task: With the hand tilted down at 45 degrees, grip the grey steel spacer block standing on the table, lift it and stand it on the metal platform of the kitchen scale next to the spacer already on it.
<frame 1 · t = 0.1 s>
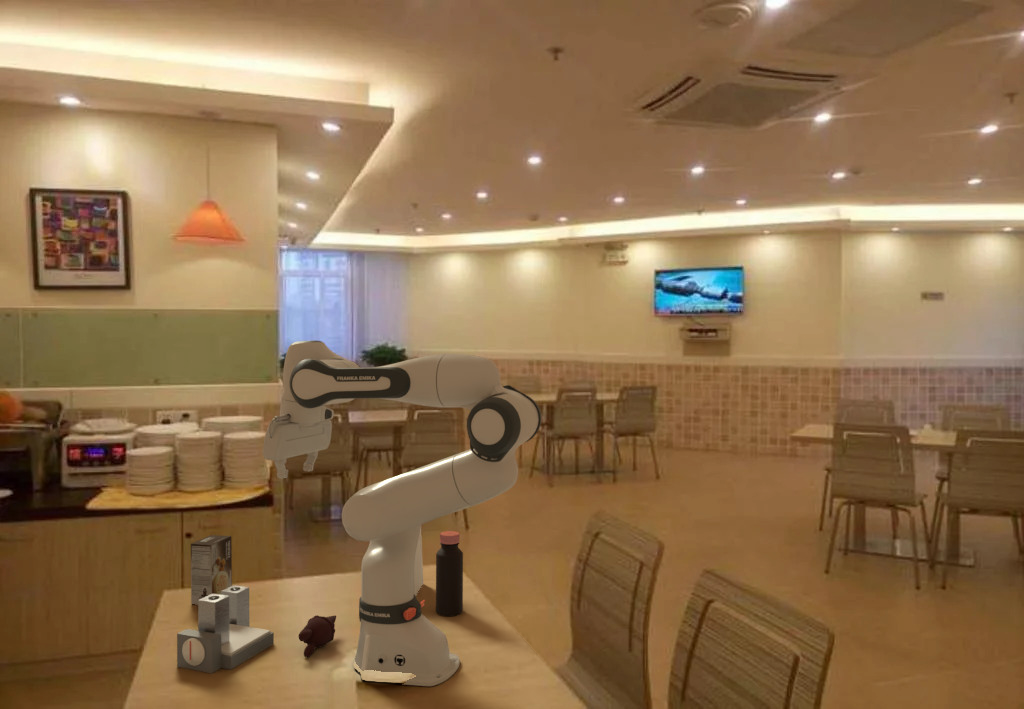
hand: (295, 474, 167), 39 cm above the table, tool pointing down, fingers open, 8 cm apart
coffee box: (211, 600, 198), on the table
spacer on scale: (214, 644, 162), point 3 cm above the table, touching scale
milk: (397, 590, 206), on the table
bottle: (449, 612, 190), on the table
spacer: (235, 631, 177), on the table
icecream: (319, 646, 169), on the table
scale: (226, 651, 166), on the table
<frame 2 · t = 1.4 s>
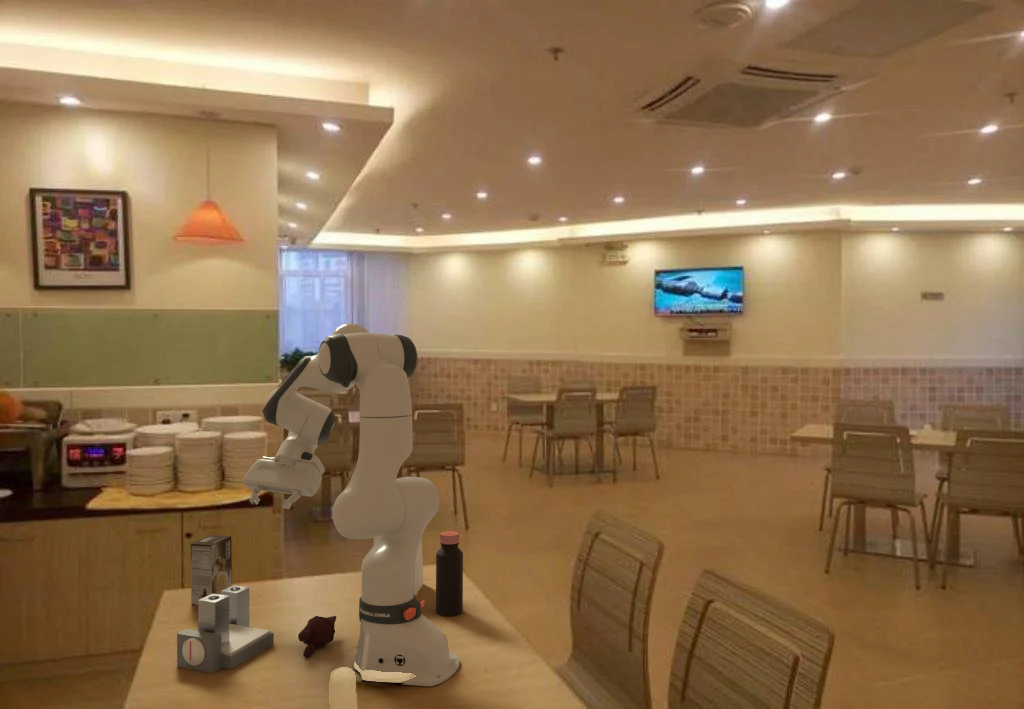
hand: (269, 505, 188), 27 cm above the table, tool tilted 45°, fingers open, 8 cm apart
nothing on the table moved.
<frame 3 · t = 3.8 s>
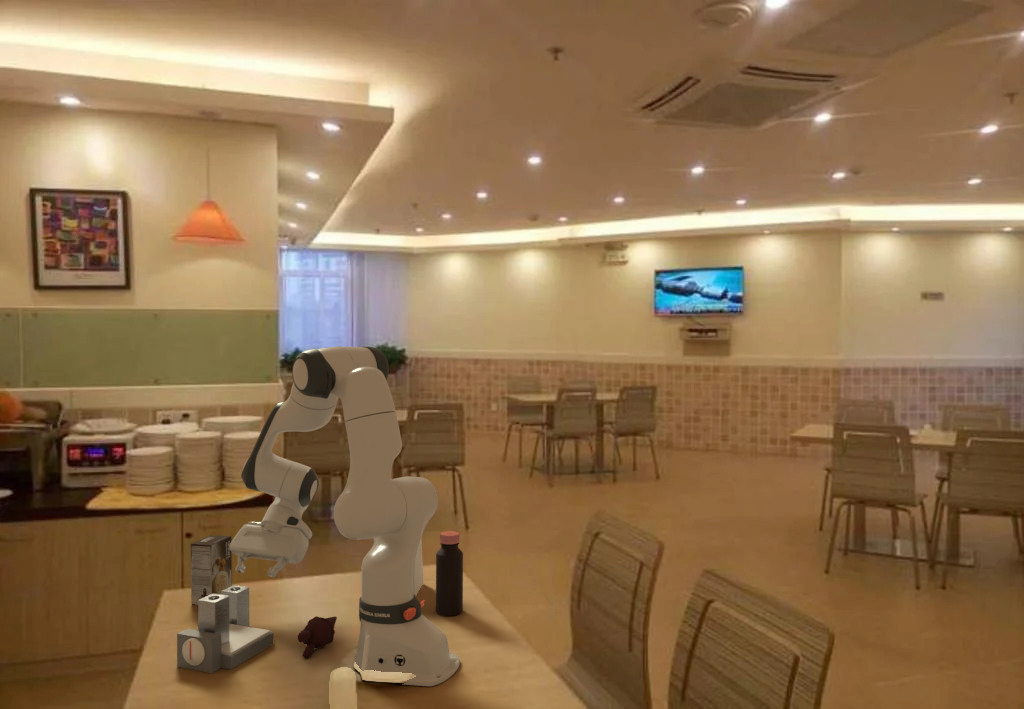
hand: (254, 573, 183), 12 cm above the table, tool tilted 45°, fingers open, 8 cm apart
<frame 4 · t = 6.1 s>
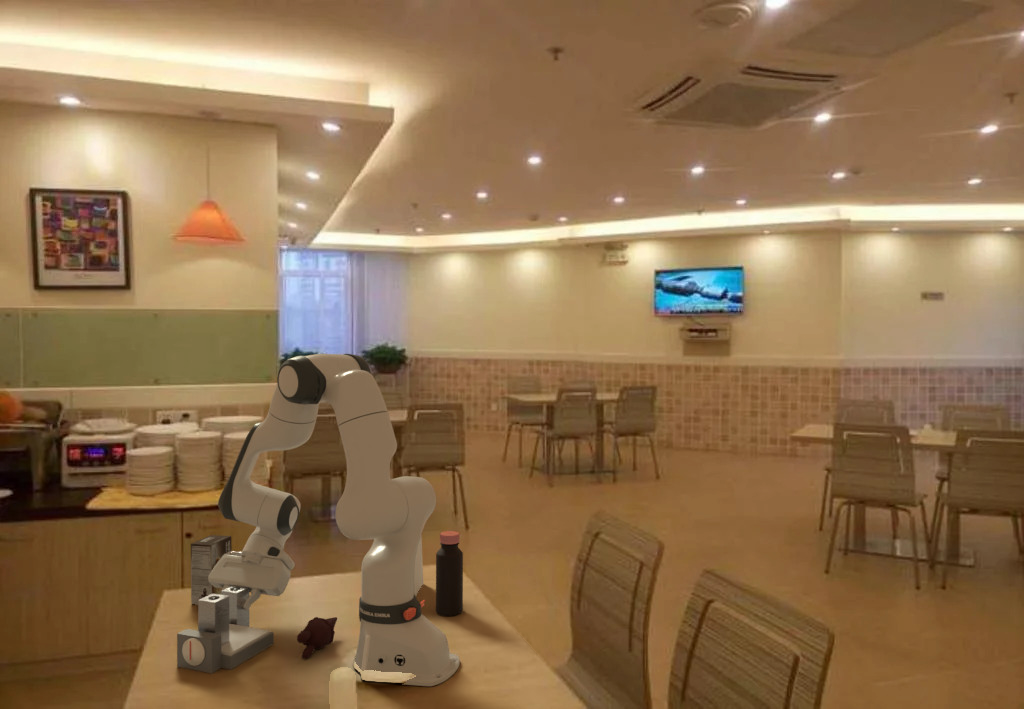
hand: (233, 607, 176), 6 cm above the table, tool tilted 45°, fingers closed on spacer, 4 cm apart
spacer: (235, 631, 177), on the table, touching gripper
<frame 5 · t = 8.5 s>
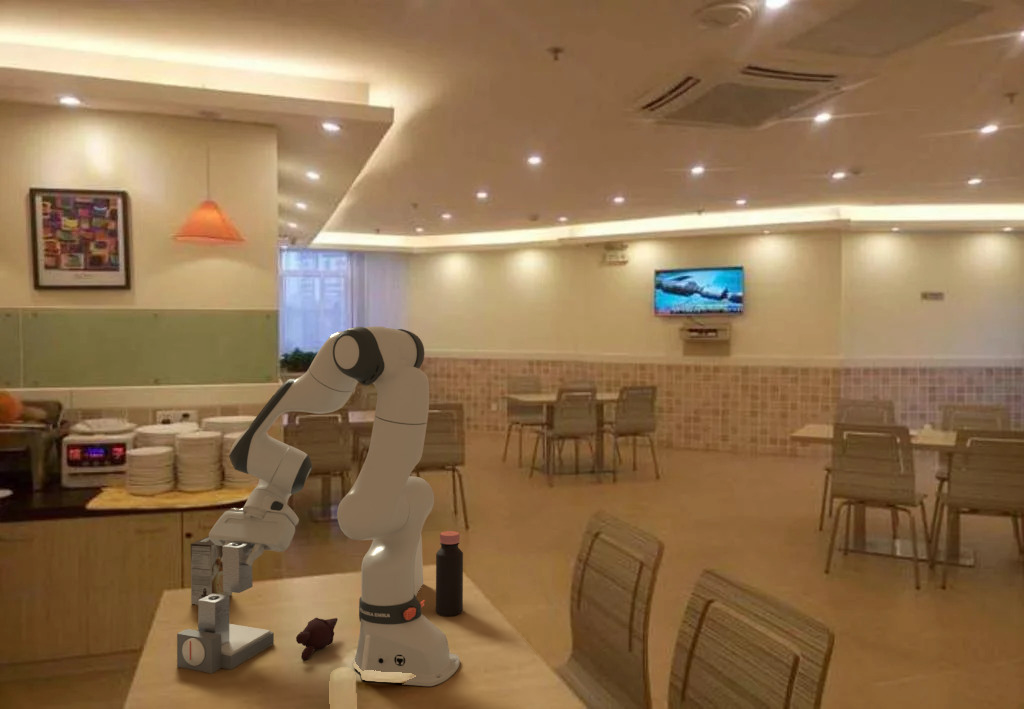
hand: (235, 563, 168), 19 cm above the table, tool tilted 45°, fingers closed on spacer, 4 cm apart
spacer: (237, 588, 168), point 13 cm above the table, touching gripper
when the fingers open (10 cm above the table, at t = 11.1 s): spacer stays where it is, resting on scale.
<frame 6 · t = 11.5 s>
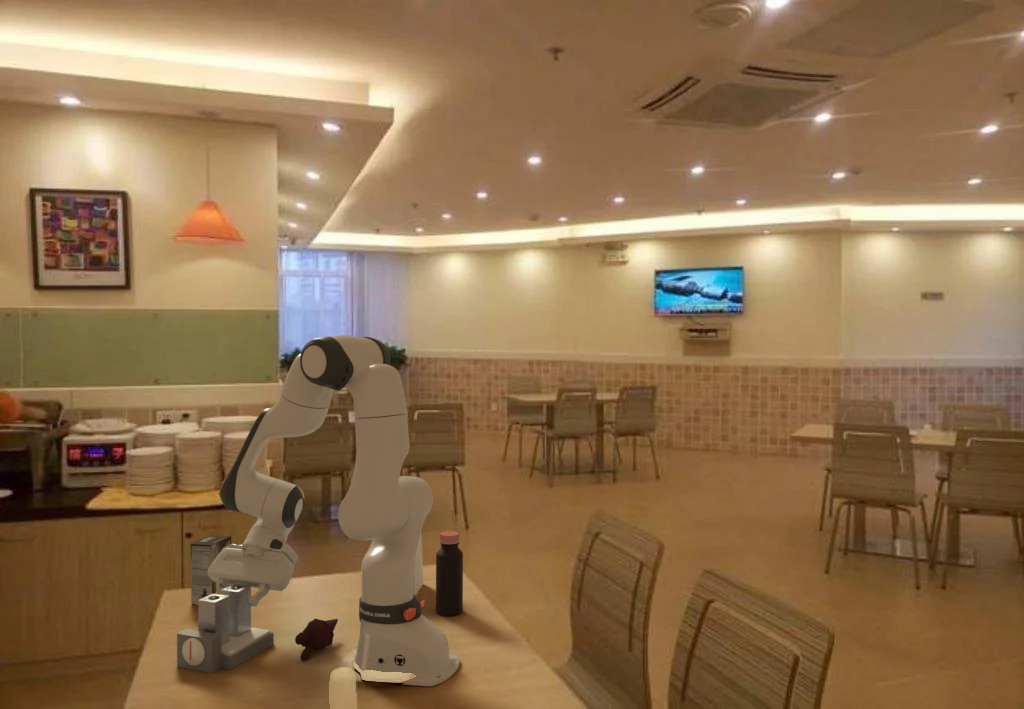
hand: (234, 602, 168), 10 cm above the table, tool tilted 45°, fingers open, 8 cm apart
spacer: (236, 632, 168), point 3 cm above the table, touching scale
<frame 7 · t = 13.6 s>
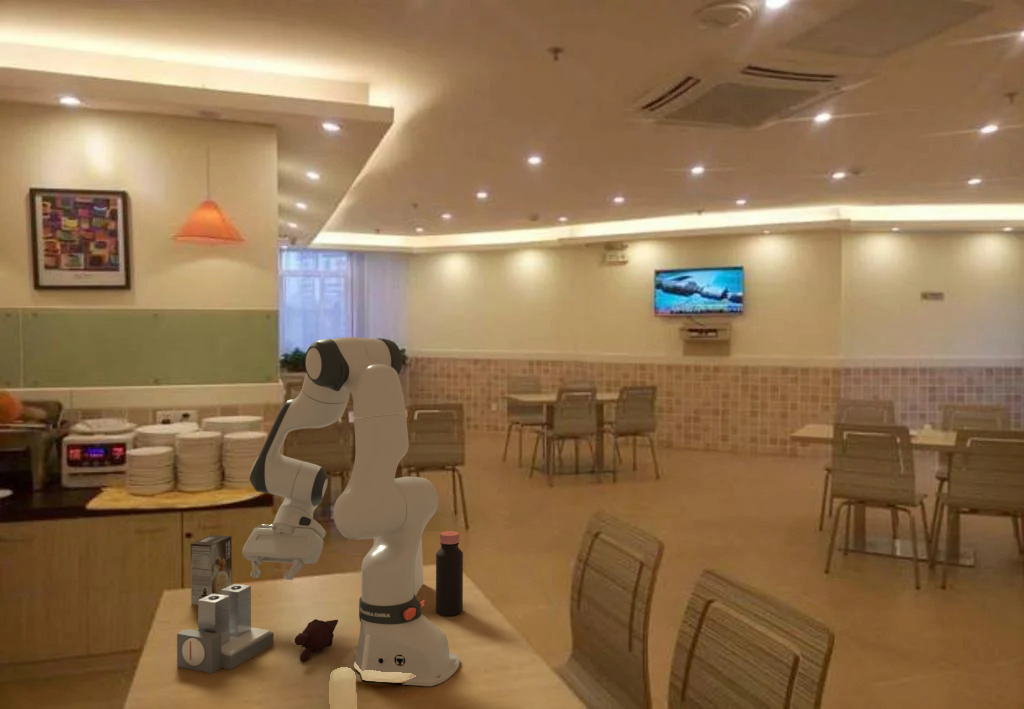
hand: (270, 577, 180), 12 cm above the table, tool tilted 40°, fingers open, 8 cm apart
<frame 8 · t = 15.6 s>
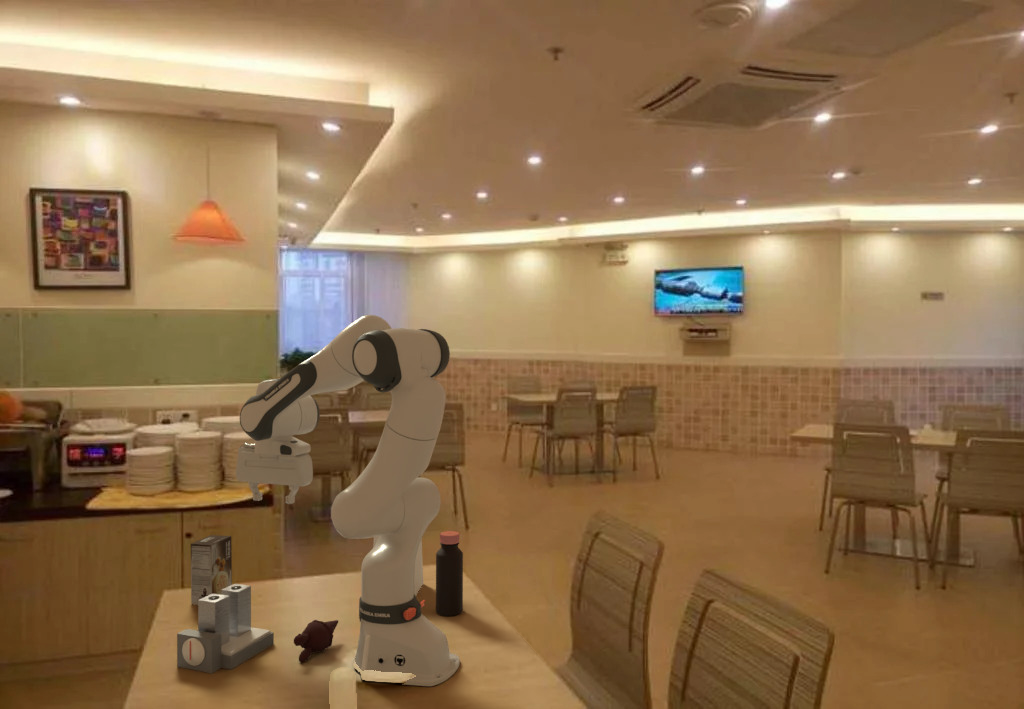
hand: (273, 501, 183), 29 cm above the table, tool pointing down, fingers open, 8 cm apart
at the end: spacer inside the target area on the scale (0.5 cm from its centre), point 3.2 cm above the scale's base; spacer tilted 0°; the gripper is holding nothing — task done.
